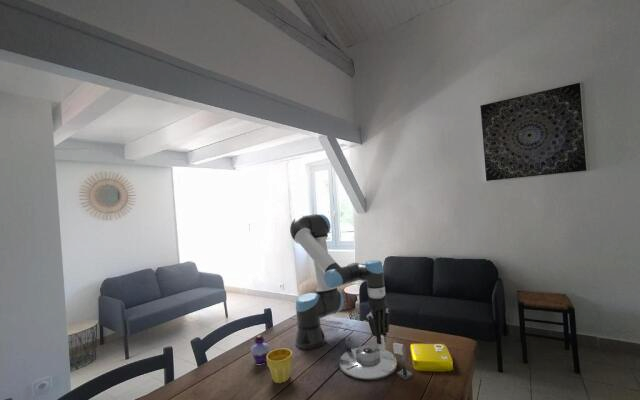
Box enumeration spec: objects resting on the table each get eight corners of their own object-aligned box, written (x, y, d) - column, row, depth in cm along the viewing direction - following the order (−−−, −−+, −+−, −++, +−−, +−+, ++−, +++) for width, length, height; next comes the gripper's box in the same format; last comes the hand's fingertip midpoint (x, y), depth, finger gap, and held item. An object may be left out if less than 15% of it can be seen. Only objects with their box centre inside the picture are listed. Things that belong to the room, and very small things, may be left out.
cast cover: (351, 359, 126) (351, 349, 126) (369, 352, 131) (368, 342, 131) (367, 369, 117) (366, 358, 117) (385, 360, 123) (384, 350, 123)
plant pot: (289, 386, 113) (287, 361, 113) (264, 385, 115) (262, 360, 115) (297, 371, 123) (295, 348, 123) (273, 371, 125) (271, 347, 125)
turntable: (325, 359, 130) (324, 345, 131) (366, 342, 143) (365, 329, 143) (364, 387, 108) (362, 370, 108) (409, 364, 120) (408, 349, 120)
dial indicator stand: (395, 373, 116) (392, 343, 116) (402, 370, 118) (399, 340, 118) (405, 379, 111) (402, 348, 111) (412, 375, 113) (409, 344, 114)
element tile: (410, 352, 131) (409, 342, 131) (446, 353, 128) (445, 342, 128) (414, 371, 117) (413, 359, 117) (454, 372, 114) (453, 360, 114)
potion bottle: (261, 356, 139) (259, 330, 140) (274, 360, 134) (272, 333, 135) (247, 364, 132) (245, 337, 133) (260, 369, 127) (258, 341, 128)
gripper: (370, 301, 123) (376, 358, 122) (393, 294, 129) (399, 348, 128) (359, 297, 129) (365, 352, 128) (382, 291, 136) (387, 343, 135)
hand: (382, 350), depth 128 cm, fingers closed
